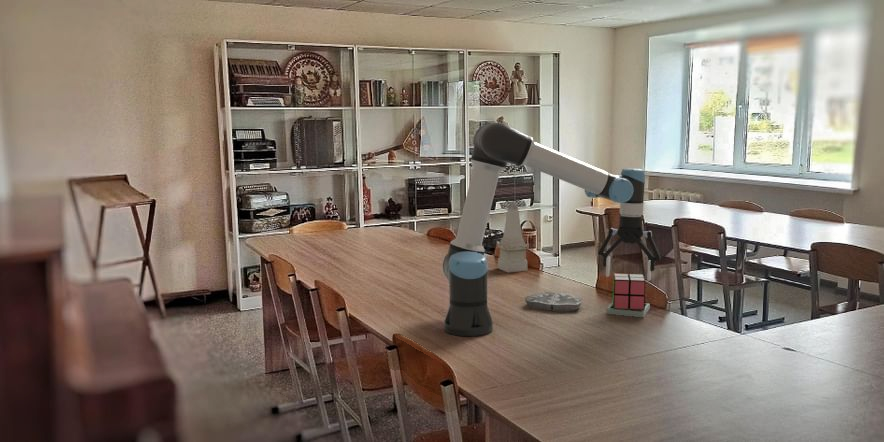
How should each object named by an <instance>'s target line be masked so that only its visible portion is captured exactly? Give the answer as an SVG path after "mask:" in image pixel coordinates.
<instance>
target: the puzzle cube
mask: <svg viewBox="0 0 884 442" xmlns="http://www.w3.org/2000/svg"><path fill="white" fill-rule="evenodd" d="M646 281H647V280H646V279H645V276H644V274H635V273H632V274H631V273H629V274H628V273H613V281H612V282H613V283H612V284H613V285H612V302H613V308H614V309H626V310H628V309H630V310H645V303H646V285H647V284H646Z"/></svg>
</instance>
